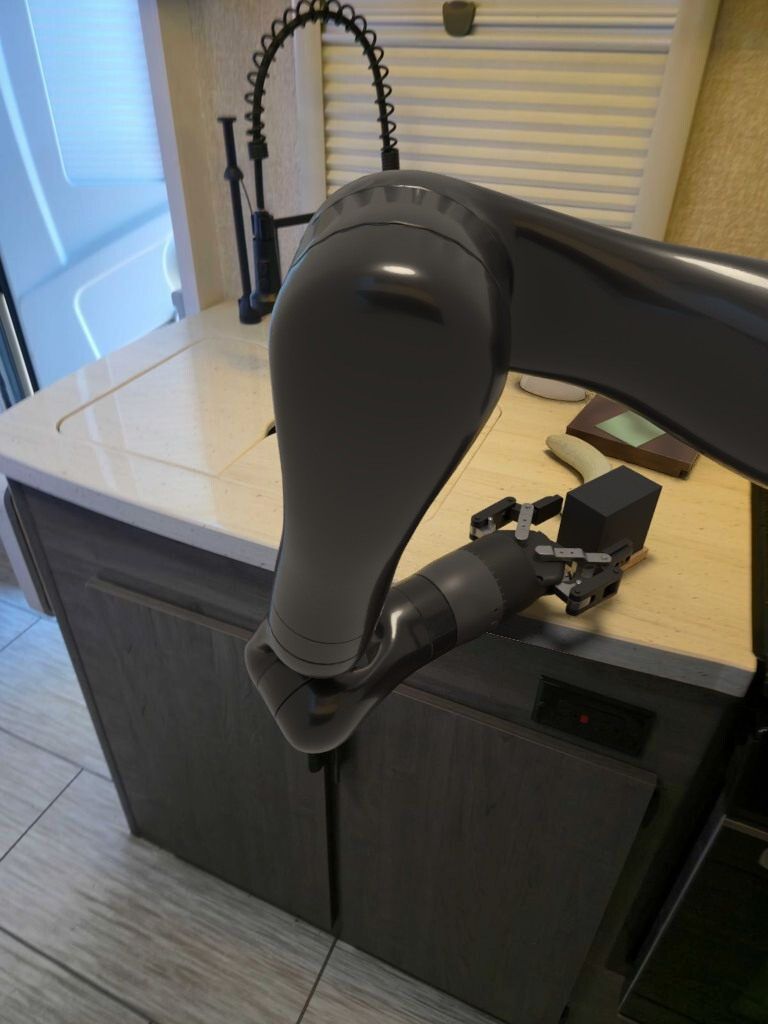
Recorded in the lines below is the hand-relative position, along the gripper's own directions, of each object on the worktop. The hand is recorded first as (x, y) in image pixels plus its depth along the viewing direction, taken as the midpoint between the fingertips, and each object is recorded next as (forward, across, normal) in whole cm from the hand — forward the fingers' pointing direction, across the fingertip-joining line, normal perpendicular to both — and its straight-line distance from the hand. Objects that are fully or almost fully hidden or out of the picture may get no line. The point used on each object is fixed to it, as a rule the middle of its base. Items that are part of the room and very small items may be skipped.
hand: (592, 523), depth 65 cm
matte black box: (+2, 0, +6) cm, 6 cm away
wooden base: (+27, +13, +6) cm, 31 cm away
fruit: (+12, +12, +6) cm, 18 cm away
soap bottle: (+27, +29, +6) cm, 40 cm away
